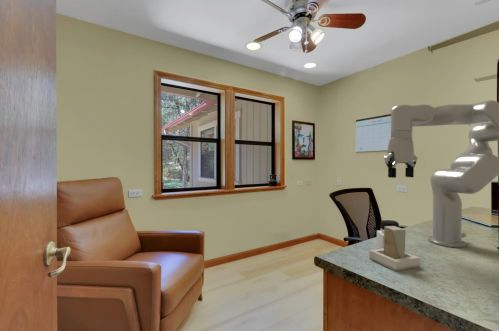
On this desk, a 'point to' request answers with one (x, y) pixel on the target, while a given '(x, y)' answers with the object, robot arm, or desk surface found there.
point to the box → (394, 242)
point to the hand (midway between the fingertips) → (400, 177)
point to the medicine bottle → (381, 233)
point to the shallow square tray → (394, 260)
